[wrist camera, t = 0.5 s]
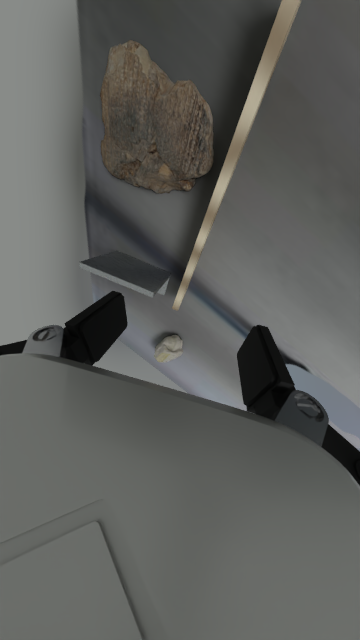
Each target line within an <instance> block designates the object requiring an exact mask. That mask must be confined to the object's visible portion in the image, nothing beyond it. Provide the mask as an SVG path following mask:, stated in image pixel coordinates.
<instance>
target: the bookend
mask: <svg viewBox="0 0 360 640" xmlns="http://www.w3.org/2000/svg"><path fill="white" fill-rule="evenodd" d="M79 265H80V268H82V269H84V270H87V271H89V272H91V273H94V274H96V275H99V276H101V277H104V278H106V279H108V280H111V281H113V282H116V283H118V284H121V285H123V286H125V287H128V288H130V289H133V290H135V291H138V292H140V293H143V294H145V295H147V296H150V297H152V298H153V297H154V295H155V294H156V293H160V294H162V295H165V292H166V288H167V285H168V282H169V278H170V275H171V273H169V272H167V271H165V270H162V269H160V268H157V267H155V266H153V265H150V264H148V263H145V262H143V261H141V260H138V259H136V258H133V257H131V256H129V255H126V254H124V253H121V252H119V251H114V252H111V253H107V254H104V255H101V256H97V257H94V258H91V259H88V260H84V261H81V262H79Z"/></svg>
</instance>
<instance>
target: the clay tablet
mask: <svg viewBox="0 0 360 640" xmlns="http://www.w3.org/2000/svg"><path fill="white" fill-rule="evenodd" d="M100 97H101V101H102V120H103V122H104V126H105V136H104V140H102V141H101V155H102V158H103V163H104V165H105V167H106V168H107V169H108V171H109V172H110V173H111V174H112V175H113V176H115V177H117V178H119V179H125V181H126V182H128V183H130V184H132V185H134V186H137V187H140V186H143V187H144V188H145V189H152V190H153V191H154V192H156V193H165V192H167V193H169V192H170V191H171V190H180V191H181V190H185V191H190V190H191V189H192V187H193V186H194V185H195V183H196V180H195V178H198V177H201V176H203V175H205V174H206V173H207V172H208V171H209V170H210V169H211V167H212V165H213V158H214V150H213V137H214V133H213V116H212V113H211V110H210V107H209V105H208V104H207V102H206V101H205V100H204V99H203V97H202V96H201V94H200V93H199V92H198V90H197V88H196V86H195V85H194V83H193V82H192V81H191V80H188V81H178V80H177V82H176V83H173V82H172V81H170V79H169V77H168V76H167V74H166V73H165V72H164V71H163V70H161V69H160V68H159V67H158V65H157V64H156V63H155V62H153V61H151V59H150V57H149V54H148V51H147V49H146V48H144V47H143V46H142V45H141V44H140V43H137V42H135V41H132V40H129V41H128V42H126V43H125V44H123V45H121V44H119V45H118V46H113V47H111V48H110V51H109V56H108V64H107V68H106V73H105V76H104V80H103V84H102V88H101V93H100ZM139 185H140V186H139Z"/></svg>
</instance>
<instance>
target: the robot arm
mask: <svg viewBox="0 0 360 640" xmlns="http://www.w3.org/2000/svg"><path fill="white" fill-rule="evenodd" d="M65 326H66V327H65V328H64V329H63V328H62V327H61V326H58V325H49V326H45V327H42V328H39V329H37V330H35V331H34V332H33V333H32V334H31V335H30V336H29V338H28V340H25V341H20V342H16V343H12V344H7V345H3V346H0V640H360V452H359V451H358V450H357V449H356V448H355V447H354V446H353V445H352V444H350V443H349V442H348V441H347V440H346V439H345V438H344V437H342V436H341V435H340V434H339V433H338V432H337V431H336V430H334V429H333V428H332V427H331V426H330V425H329V424H328V422H329V418H328V415H327V413H326V411H325V409H324V408H323V406H322V405H321V404H320V403H319V402H318V401H317V400H316V399H315V398H314V397H312V396H311V395H309V394H308V393H305V392H303V391H299V390H296V389H295V387H294V383H293V381H292V378H291V376H290V374H289V372H288V370H287V367H286V365H285V363H284V361H283V359H282V357H281V355H280V352H279V350H278V348H277V346H276V344H275V342H274V339H273V337H272V335H271V333H270V331H269V329H268V327H265V326H261V325H257V326H254V327H253V328H252V329H251V331H250V333H249V334H248V336H247V338H246V339H245V341H244V343H243V344H242V346H241V348H240V349H239V351H238V353H237V360H238V367H239V374H240V381H241V388H242V395H243V402H244V404H245V405H246V406H247V411H248V412H247V411H244V410H241V409H237V408H234V407H231V406H228V405H225V404H221V403H218V402H214V401H211V400H208V399H204V398H201V397H198V396H194V395H191V394H188V393H184V392H181V391H177V390H174V389H171V388H167V387H163V386H160V385H157V384H153V383H150V382H147V381H143V380H140V379H136V378H133V377H129V376H126V375H122V374H119V373H116V372H112V371H109V370H105V369H102V368H98V367H95V366H92V365H93V364H94V363H95V362H97V361H99V360H100V358H101V357H102V356H103V355H104V354H105V352H106V351H107V350H108V349H109V348H110V347H111V345H112V344H113V343H114V342H115V341H116V339H117V338H118V337H119V336H120V335H121V334H122V332H123V331H124V330H125V329H126V327H127V316H126V309H125V302H124V296H123V295H122V294H121V293H119V292H115V291H112V292H110V293H109V294H107V295H106V296H104V297H103V298H101V299H100V300H98V301H97V302H95V303H94V304H92V305H91V306H90V307H88V308H87V309H85V310H84V311H82V312H81V313H79V314H78V315H76V316H75V317H74V318H72V319H71V320H69V321H68V322H66V323H65ZM250 412H251V413H250ZM253 413H255V414H253Z"/></svg>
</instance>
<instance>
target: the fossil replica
mask: <svg viewBox="0 0 360 640" xmlns="http://www.w3.org/2000/svg"><path fill="white" fill-rule="evenodd" d="M155 349H156V350H155V355H154V357H155V359H156V360H157V361H158V362H168V361H171V360H173V359H175V358H177V357H179V356H180V355H181V354H182V353H183V350H182V340H181V339H180V337H179V336H178V335H172V336H168V337H166V338H164V339H163V340H162V342H160V343H159V344H158V345H157V346H156V347H155Z"/></svg>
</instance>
